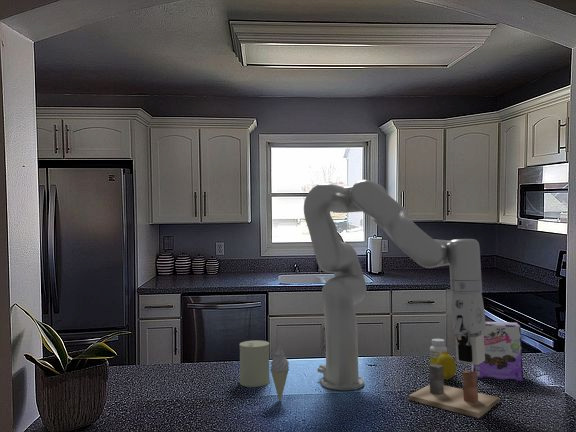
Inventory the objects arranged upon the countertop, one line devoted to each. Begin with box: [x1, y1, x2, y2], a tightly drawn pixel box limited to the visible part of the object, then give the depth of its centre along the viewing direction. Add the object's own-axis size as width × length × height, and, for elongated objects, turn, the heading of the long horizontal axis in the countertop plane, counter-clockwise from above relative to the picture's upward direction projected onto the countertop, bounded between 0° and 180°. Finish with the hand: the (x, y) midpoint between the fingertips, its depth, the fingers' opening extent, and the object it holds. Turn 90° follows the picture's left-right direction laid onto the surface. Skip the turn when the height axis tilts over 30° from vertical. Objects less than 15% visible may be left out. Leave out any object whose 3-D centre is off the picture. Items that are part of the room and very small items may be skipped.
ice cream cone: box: [269, 343, 290, 401], centre depth 115 cm, size 5×5×15 cm
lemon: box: [437, 353, 457, 381], centre depth 130 cm, size 6×6×8 cm
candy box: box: [471, 321, 524, 382], centre depth 132 cm, size 14×6×16 cm, turn 71°
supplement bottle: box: [429, 338, 449, 365], centre depth 140 cm, size 5×5×10 cm
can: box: [238, 339, 271, 388], centre depth 131 cm, size 9×9×12 cm
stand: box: [408, 364, 500, 419], centre depth 112 cm, size 18×14×8 cm
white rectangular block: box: [454, 333, 485, 365], centre depth 109 cm, size 5×5×7 cm
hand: (470, 358), depth 109 cm, fingers closed on white rectangular block, 5 cm apart
